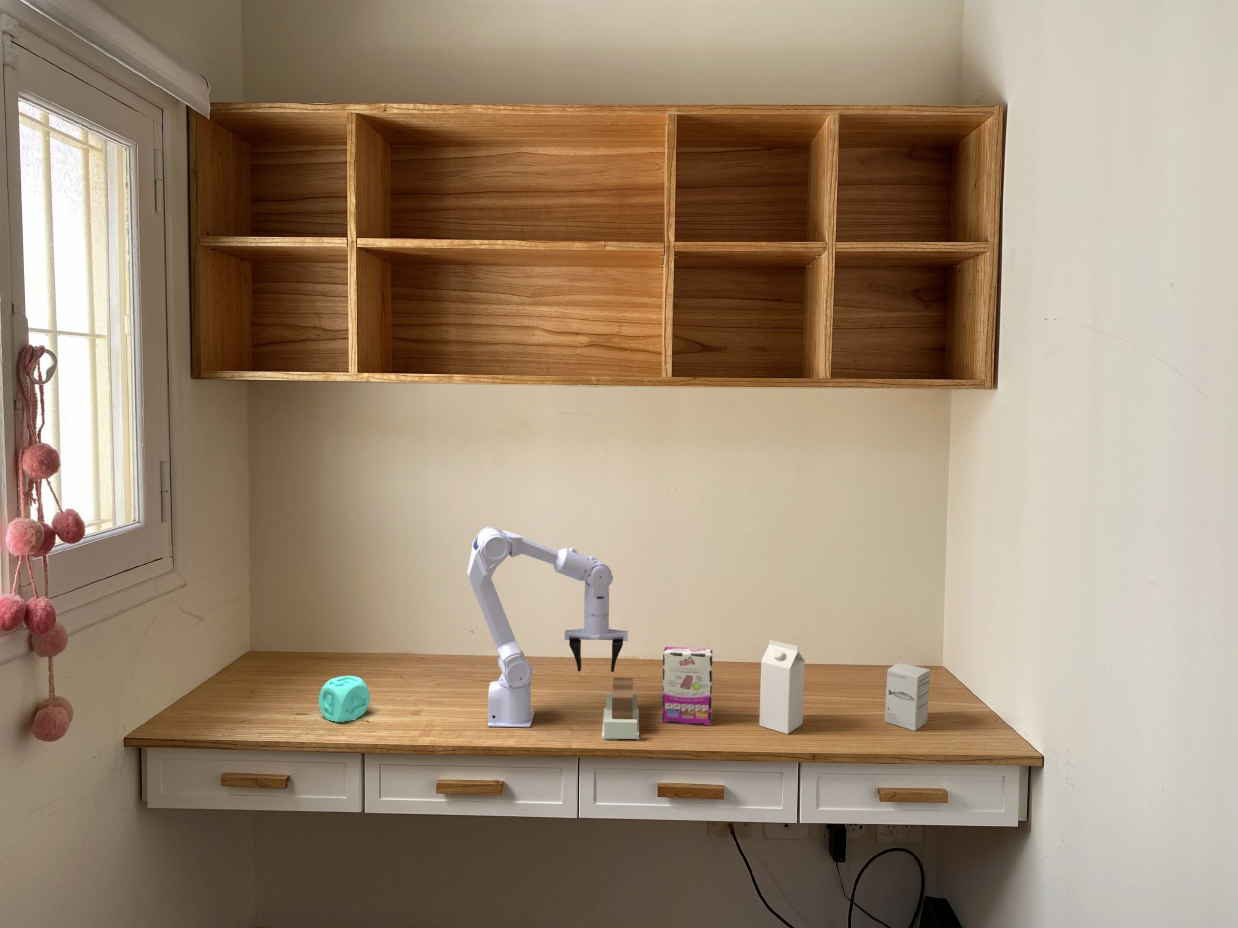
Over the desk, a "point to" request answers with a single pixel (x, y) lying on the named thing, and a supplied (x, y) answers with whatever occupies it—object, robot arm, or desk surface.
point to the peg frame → (620, 722)
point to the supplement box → (907, 696)
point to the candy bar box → (687, 685)
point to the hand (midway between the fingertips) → (596, 670)
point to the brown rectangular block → (622, 698)
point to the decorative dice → (344, 698)
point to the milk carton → (782, 687)
